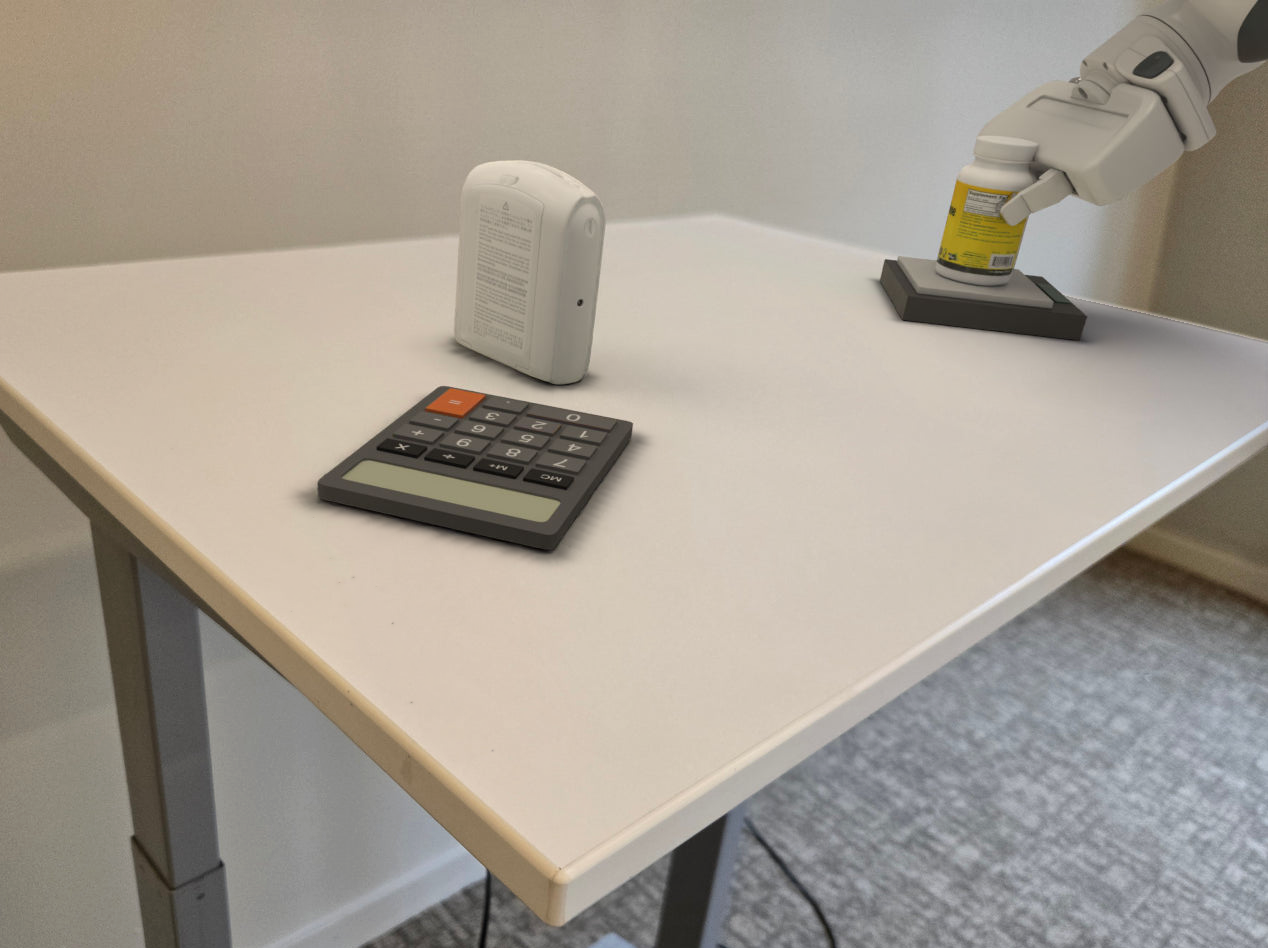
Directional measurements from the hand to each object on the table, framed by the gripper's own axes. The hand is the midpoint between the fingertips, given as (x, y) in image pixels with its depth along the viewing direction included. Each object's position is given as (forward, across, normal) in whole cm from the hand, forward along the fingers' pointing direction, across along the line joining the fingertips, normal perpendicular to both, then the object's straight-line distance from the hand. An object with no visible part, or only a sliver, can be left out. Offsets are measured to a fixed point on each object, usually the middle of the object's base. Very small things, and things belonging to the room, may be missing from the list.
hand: (982, 208), depth 88 cm
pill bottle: (+4, 0, +5) cm, 6 cm away
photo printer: (+33, +21, -21) cm, 44 cm away
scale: (+5, 0, +7) cm, 8 cm away
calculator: (+35, +38, -23) cm, 56 cm away
